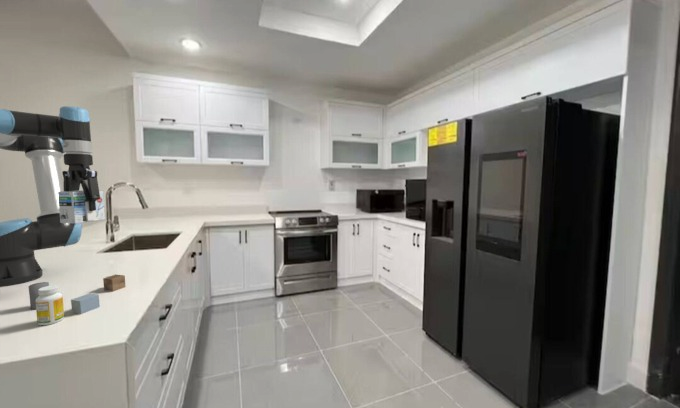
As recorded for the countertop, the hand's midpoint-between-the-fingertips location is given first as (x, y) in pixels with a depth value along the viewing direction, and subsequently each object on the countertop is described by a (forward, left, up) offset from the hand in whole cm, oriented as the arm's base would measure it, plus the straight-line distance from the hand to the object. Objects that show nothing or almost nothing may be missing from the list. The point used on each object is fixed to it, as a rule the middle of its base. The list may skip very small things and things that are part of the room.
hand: (83, 219), depth 105 cm
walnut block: (+9, +2, -25) cm, 27 cm away
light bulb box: (0, 0, -1) cm, 1 cm away
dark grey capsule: (+2, -15, -25) cm, 29 cm away
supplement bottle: (+17, -21, -25) cm, 37 cm away
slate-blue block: (+18, -13, -25) cm, 33 cm away
